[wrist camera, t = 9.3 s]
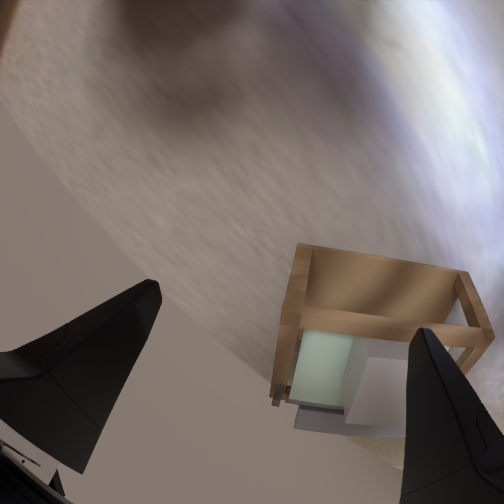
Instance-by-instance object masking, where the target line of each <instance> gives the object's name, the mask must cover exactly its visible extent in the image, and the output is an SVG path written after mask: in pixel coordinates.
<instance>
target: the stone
mask: <svg viewBox="0 0 504 504" xmlns="http://www.w3.org/2000/svg"><path fill="white" fill-rule="evenodd" d="M409 344H410V343H408V342H398V341H389V340H381V339H373V338H365V337H358V336H355V337H354V341H353V345H352V348H351V352H350V355H349V359H348V362H347V366H346V369H345V372H344V375H343V379H342V389H343V402H344V418H345V423H349V424H361V425H378V426H406V381H407V367H408V349H409Z"/></svg>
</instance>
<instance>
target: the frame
mask: <svg viewBox="0 0 504 504" xmlns="http://www.w3.org/2000/svg"><path fill="white" fill-rule="evenodd" d="M458 297H459V300H460V303H461V306H462V308H463V311H464V314H465V317H466V320H467V323H468V326H469V327H466V326H456V325H447V324H443V323H444V321H445V320H446V318H447V316H448V315H449V313H450V311H451V309H452V308H453V306H454V304H455V302H456V300H457V298H458ZM420 327H425V328H430V329H431V330H432V331H433V332H434V333H435V335H436V336H437V337H438V339H439V340H440V342H441V343H442V344H443V346H452V347H467V348H466V349H465V351H464V352H463V353H462V355H461V356H460V357H459V359H458V360H457V361H456V364H457V365H458V367H459V368H460V370H461V371H462V373H463V374H464V376H465V375H466V374H467V373H468V371H469V370H470V369H471V368H472V367H473V365H474V364H475V363H476V362H477V361H478V359H479V358H480V357H481V356H482V354H483V353H484V352H485V350H486V349H487V348H488V347H489V345H490V344H491V343H492V341H493V340H494V338H495V335H494V332H493V329H492V327H491V324H490V321H489V319H488V316H487V314H486V311H485V309H484V306H483V304H482V302H481V299H480V297H479V295H478V292H477V290H476V288H475V286H474V284H473V281H472V279H471V277H470V275H469V273H468V272H465V271H459V270H454V269H448V268H443V267H437V266H431V265H426V264H420V263H414V262H409V261H403V260H397V259H391V258H385V257H379V256H374V255H368V254H362V253H356V252H350V251H343V250H337V249H331V248H325V247H319V246H313V245H306V244H300V243H298V244H297V248H296V253H295V257H294V261H293V266H292V270H291V274H290V278H289V283H288V287H287V291H286V295H285V299H284V303H283V307H282V312H281V319H280V327H279V334H278V341H277V349H276V356H275V363H274V369H273V376H272V383H271V389H270V396H269V397H271V398H273V400H272V406H278V407H279V404H280V400H281V399H282V400H286V396H287V394H290V390H291V386H286V385H287V381H288V377H289V372H290V368H291V364H292V359H293V355H294V350H295V345H296V341H297V340H299V341H302V336H303V331H304V328H305V329H311V330H318V331H324V332H330V333H337V334H344V335H351V336H358V337H365V338H373V339H381V340H389V341H398V342H408V343H410V342H411V340H412V338H413V337H414V335H415V333H416V331H417V330H418V328H420Z"/></svg>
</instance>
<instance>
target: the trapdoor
mask: <svg viewBox="0 0 504 504" xmlns="http://www.w3.org/2000/svg"><path fill="white" fill-rule="evenodd" d="M354 337H355V336H351V335H344V334H337V333H330V332H324V331H318V330H311V329H305V328H304V331H303V336H302V341H301V346H300V350H299V355H298V360H297V364H296V369H295V373H294V377H293V382H292V386H291V390H290V394H287V396H286V400H285V402H286V403H291V404H298V405H299V408H298V412H297V415H296V419H295V425H294V428H295V429H301V430H308V431H315V432H323V433H332V434H341V435H352V436H366V437H389V438H405V437H406V426H378V425H361V424H349V423H345V418H344V402H343V389H342V379H343V375H344V372H345V369H346V366H347V362H348V359H349V355H350V352H351V348H352V345H353V341H354ZM444 347H445V348H446V350H447V351H448V350H449V347H450V346H444Z"/></svg>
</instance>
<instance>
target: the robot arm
mask: <svg viewBox="0 0 504 504" xmlns="http://www.w3.org/2000/svg"><path fill="white" fill-rule="evenodd" d="M161 304H162V295H161V291H160V286H159V283H158V282H157V281H156V280H151V279H146V280H144V281H142V282H140V283H138V284H136V285H135V286H133V287H131V288H129V289H127V290H125V291H124V292H122V293H120V294H118V295H116V296H115V297H113V298H111V299H109V300H107V301H105V302H104V303H102V304H100V305H98V306H97V307H95V308H93V309H91V310H89V311H88V312H86V313H84V314H82V315H80V316H79V317H77V318H75V319H73V320H72V321H70V322H69V323H66V324H65V325H63V326H61V327H59V328H58V329H55V330H54V331H52V332H50V333H48V334H46V335H44V336H42V337H40V338H38V339H36V340H34V341H31V342H29V343H27V344H25V345H23V346H21V347H19V348H17V349H14V350H12V351H8V352H0V504H73V503H72V502H70V501H69V500H67V499H66V498H64V496H65V493H64V490H63V487H62V484H61V481H60V477H59V473H58V470H57V468H58V466H59V464H60V462H61V463H62V464H64V465H66V466H67V467H69V468H71V469H73V470H74V471H76V472H78V473H80V474H83V472H84V470H85V468H86V466H87V463H88V461H89V459H90V457H91V454H92V452H93V450H94V448H95V445H96V443H97V441H98V439H99V437H100V435H101V432H102V430H103V428H104V426H105V423H106V421H107V419H108V417H109V415H110V413H111V410H112V409H113V406H114V404H115V402H116V400H117V398H118V396H119V394H120V392H121V389H122V388H123V386H124V383H125V382H126V380H127V378H128V376H129V374H130V372H131V370H132V368H133V366H134V364H135V362H136V360H137V358H138V356H139V354H140V352H141V351H142V349H143V347H144V345H145V343H146V341H147V339H148V336H149V334H150V331H151V329H152V327H153V324H154V321H155V319H156V316H157V314H158V311H159V309H160V306H161ZM399 504H504V435H503V434H502V432H501V431H500V430H499V428H498V427H497V425H496V424H495V422H494V421H493V419H492V418H491V416H490V414H489V413H488V411H487V410H486V408H485V407H484V405H483V403H481V400H480V399H479V397H478V395H477V394H476V392H475V391H474V389H473V388H472V386H471V385H470V383H469V382H468V380H467V379H466V377H465V376H464V374H463V373H462V371H461V370H460V368H459V367H458V365H457V364H456V363H455V361H454V360H453V358H452V357H451V355H450V354H449V353H448V351H447V350H446V348H445V347H444V346H443V344H442V343H441V342H440V340H439V339H438V337H437V336H436V335H435V333H434V332H433V331H432V330H431V329H430V328H425V327H420V328H418V330H417V331H416V333H415V335H414V337H413V338H412V340H411V342H410V344H409V349H408V367H407V381H406V437H405V456H404V469H403V479H402V488H401V497H400V502H399Z"/></svg>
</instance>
